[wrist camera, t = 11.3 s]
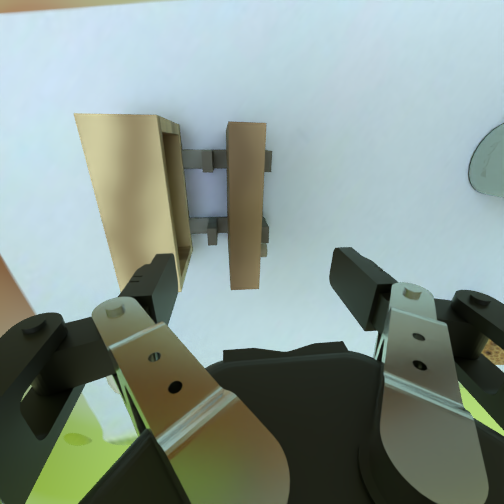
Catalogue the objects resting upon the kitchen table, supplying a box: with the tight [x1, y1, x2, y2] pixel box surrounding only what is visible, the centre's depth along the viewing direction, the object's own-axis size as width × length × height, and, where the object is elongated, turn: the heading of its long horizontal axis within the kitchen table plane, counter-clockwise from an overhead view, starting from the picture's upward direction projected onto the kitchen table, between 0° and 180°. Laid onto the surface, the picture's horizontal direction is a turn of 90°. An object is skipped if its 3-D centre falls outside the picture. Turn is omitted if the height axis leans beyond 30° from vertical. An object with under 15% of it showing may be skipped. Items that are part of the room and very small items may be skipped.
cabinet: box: [74, 113, 272, 292], centre depth 25 cm, size 15×15×10 cm
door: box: [226, 122, 267, 290], centre depth 24 cm, size 4×13×12 cm, turn 179°
